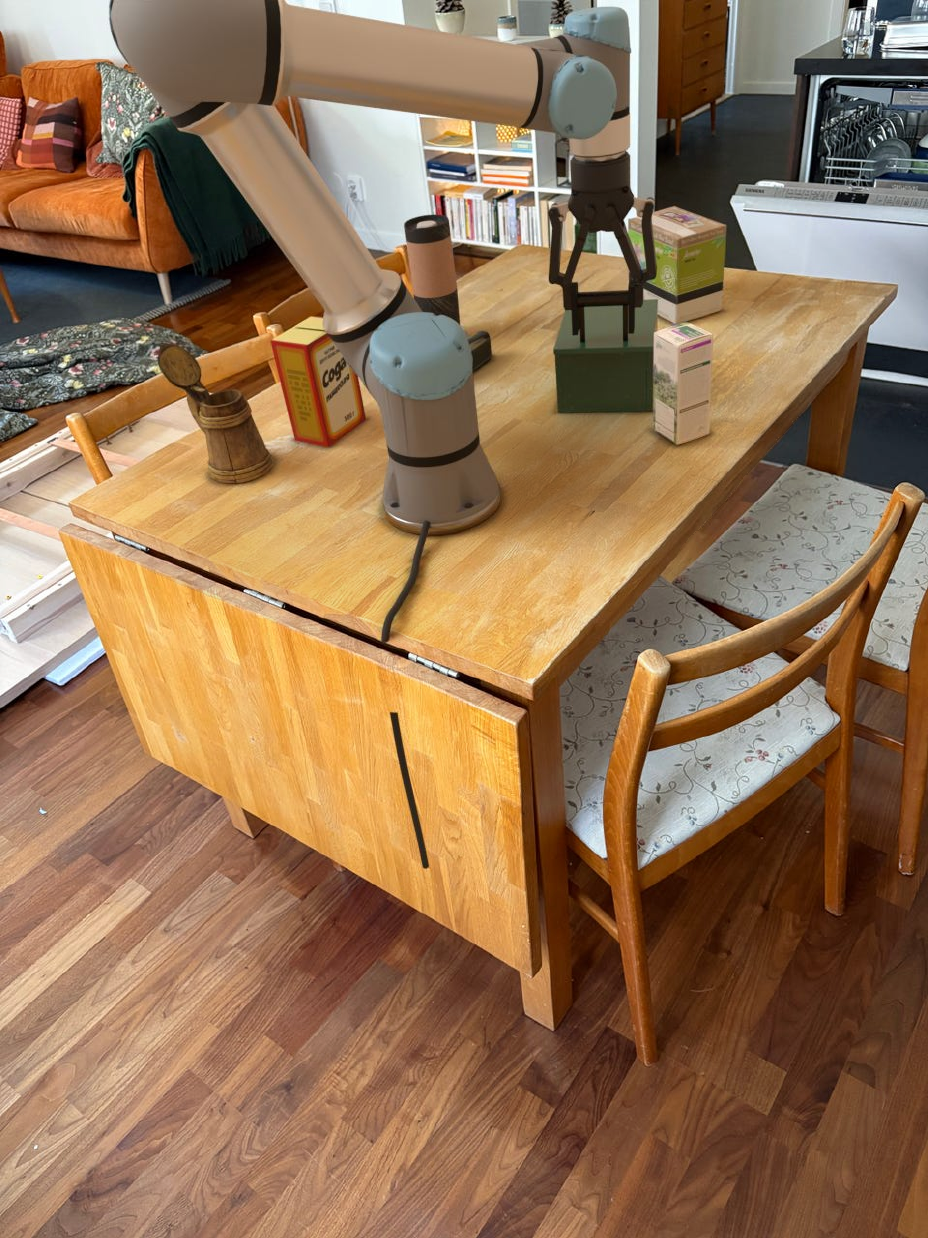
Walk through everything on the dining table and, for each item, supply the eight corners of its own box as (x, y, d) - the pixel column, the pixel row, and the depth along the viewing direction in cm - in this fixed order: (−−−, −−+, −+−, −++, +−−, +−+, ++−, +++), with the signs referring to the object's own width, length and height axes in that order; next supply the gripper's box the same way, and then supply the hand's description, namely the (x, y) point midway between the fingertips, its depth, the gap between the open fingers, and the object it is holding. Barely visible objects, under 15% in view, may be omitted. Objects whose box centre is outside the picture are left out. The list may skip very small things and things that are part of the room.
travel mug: (464, 328, 171) (451, 212, 159) (460, 345, 165) (446, 226, 153) (422, 331, 172) (406, 216, 160) (417, 348, 167) (399, 230, 154)
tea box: (626, 301, 173) (625, 216, 164) (673, 288, 176) (675, 203, 166) (675, 326, 162) (677, 236, 153) (724, 311, 164) (729, 222, 155)
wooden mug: (217, 444, 146) (183, 330, 135) (285, 459, 139) (255, 340, 128) (176, 472, 140) (136, 355, 129) (245, 489, 134) (209, 367, 123)
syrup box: (711, 434, 131) (716, 332, 122) (675, 446, 130) (678, 344, 121) (686, 418, 135) (689, 319, 126) (651, 431, 134) (652, 330, 125)
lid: (653, 351, 132) (653, 296, 127) (553, 354, 135) (550, 300, 130) (657, 303, 145) (658, 251, 141) (567, 307, 148) (564, 256, 144)
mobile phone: (478, 327, 159) (425, 360, 149) (493, 329, 157) (441, 362, 148) (481, 355, 162) (429, 390, 152) (496, 358, 160) (444, 393, 151)
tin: (652, 411, 138) (653, 349, 133) (557, 412, 141) (554, 352, 136) (657, 362, 151) (657, 304, 145) (569, 365, 154) (567, 307, 148)
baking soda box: (328, 447, 141) (305, 343, 131) (294, 440, 144) (269, 337, 134) (366, 419, 147) (346, 317, 137) (332, 412, 150) (311, 313, 140)
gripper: (682, 140, 120) (677, 317, 135) (525, 151, 125) (536, 322, 139) (680, 155, 115) (676, 339, 129) (516, 166, 119) (529, 343, 133)
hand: (603, 330), depth 134 cm, fingers closed on lid, 7 cm apart
